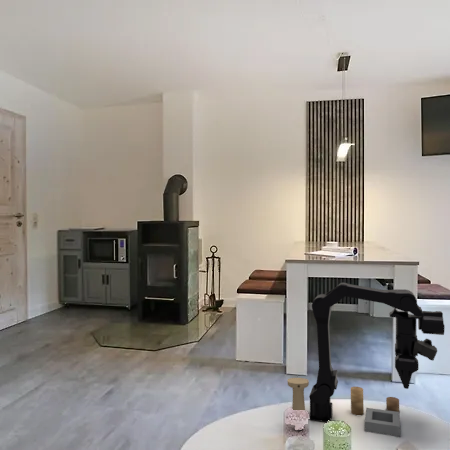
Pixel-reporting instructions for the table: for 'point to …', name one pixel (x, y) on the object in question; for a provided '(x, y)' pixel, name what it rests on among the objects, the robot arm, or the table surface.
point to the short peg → (392, 404)
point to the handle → (298, 392)
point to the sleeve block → (382, 422)
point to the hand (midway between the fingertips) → (405, 382)
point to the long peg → (357, 401)
